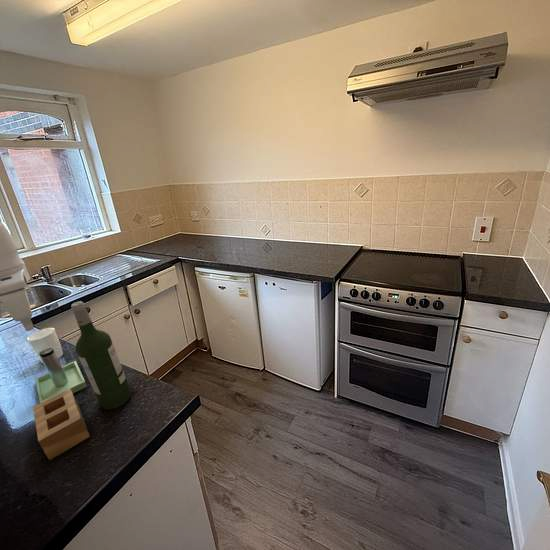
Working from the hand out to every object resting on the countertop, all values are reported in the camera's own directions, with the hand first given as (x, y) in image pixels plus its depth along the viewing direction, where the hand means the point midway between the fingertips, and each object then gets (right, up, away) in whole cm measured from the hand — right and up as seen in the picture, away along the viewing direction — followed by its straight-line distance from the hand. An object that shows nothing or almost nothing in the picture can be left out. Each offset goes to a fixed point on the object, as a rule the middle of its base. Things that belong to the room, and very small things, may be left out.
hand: (29, 323), depth 83 cm
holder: (+16, -25, -9) cm, 31 cm away
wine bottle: (+25, -21, 0) cm, 32 cm away
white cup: (-11, -16, +24) cm, 31 cm away
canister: (+3, -20, +8) cm, 22 cm away
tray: (+3, -20, +8) cm, 22 cm away
